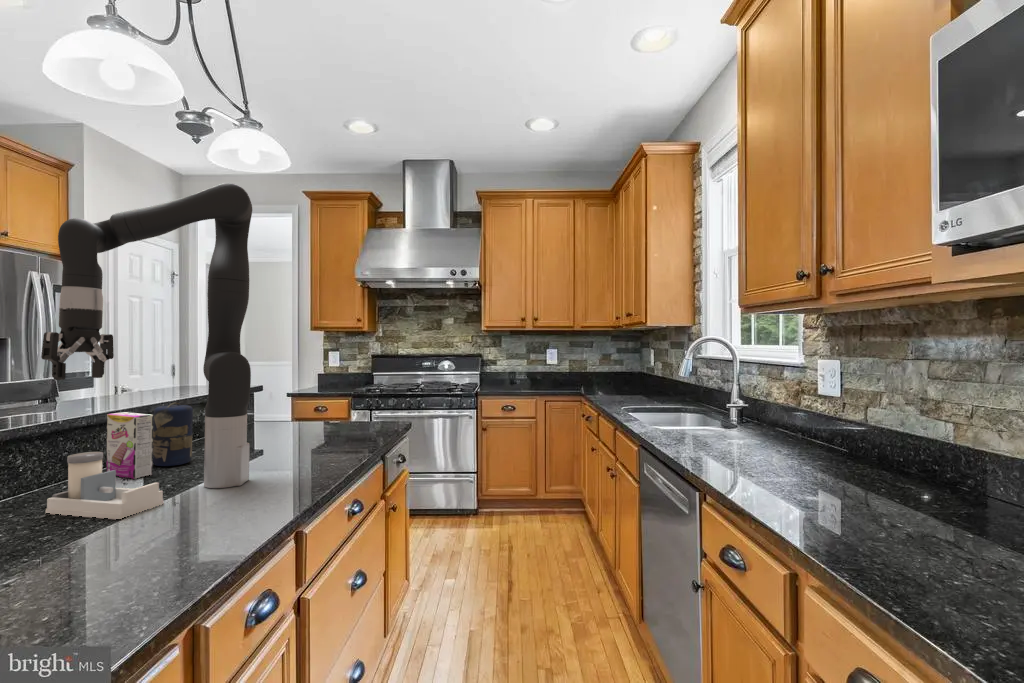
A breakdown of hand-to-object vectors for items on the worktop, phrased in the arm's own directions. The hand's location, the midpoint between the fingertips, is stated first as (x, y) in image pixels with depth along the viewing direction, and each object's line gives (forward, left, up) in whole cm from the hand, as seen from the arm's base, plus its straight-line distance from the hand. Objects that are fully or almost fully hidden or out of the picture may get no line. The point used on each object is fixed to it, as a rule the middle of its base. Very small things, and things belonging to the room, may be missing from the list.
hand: (78, 378), depth 113 cm
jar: (-7, +8, -26) cm, 28 cm away
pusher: (-11, +10, -26) cm, 30 cm away
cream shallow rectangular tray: (-12, +10, -27) cm, 31 cm away
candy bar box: (-1, -19, -27) cm, 33 cm away
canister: (-6, -31, -27) cm, 41 cm away
